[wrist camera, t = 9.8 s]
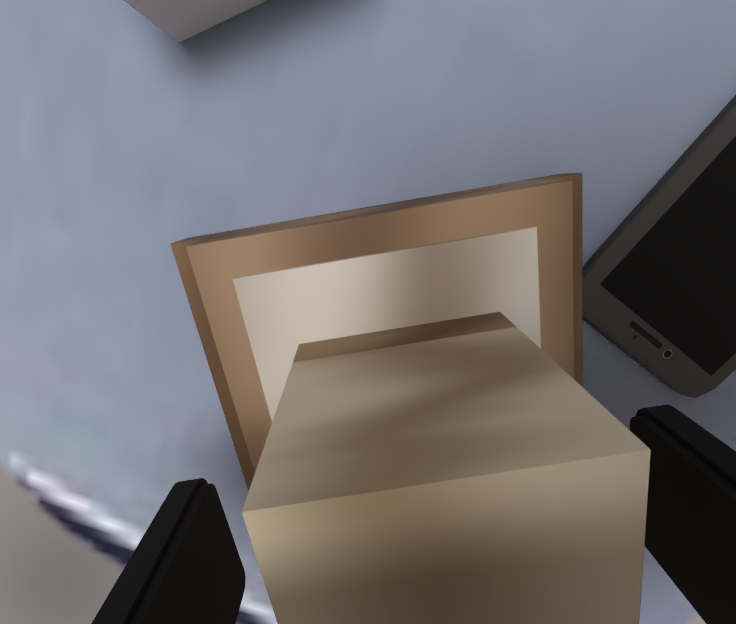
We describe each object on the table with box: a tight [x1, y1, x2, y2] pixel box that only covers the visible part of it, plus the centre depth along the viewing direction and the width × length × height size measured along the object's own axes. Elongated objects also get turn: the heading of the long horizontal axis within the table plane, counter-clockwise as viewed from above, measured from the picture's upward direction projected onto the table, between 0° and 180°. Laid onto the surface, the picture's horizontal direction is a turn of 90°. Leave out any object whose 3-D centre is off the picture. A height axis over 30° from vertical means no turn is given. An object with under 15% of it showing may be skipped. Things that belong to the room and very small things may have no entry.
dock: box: [171, 173, 582, 490], centre depth 14 cm, size 12×12×3 cm
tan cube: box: [242, 312, 651, 624], centre depth 9 cm, size 6×6×6 cm
